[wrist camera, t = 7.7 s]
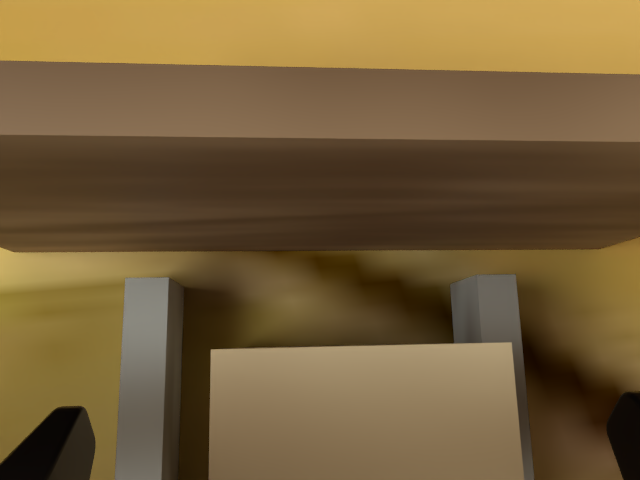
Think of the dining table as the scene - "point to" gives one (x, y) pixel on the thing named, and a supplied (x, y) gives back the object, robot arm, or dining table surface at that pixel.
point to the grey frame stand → (307, 186)
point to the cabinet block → (365, 413)
